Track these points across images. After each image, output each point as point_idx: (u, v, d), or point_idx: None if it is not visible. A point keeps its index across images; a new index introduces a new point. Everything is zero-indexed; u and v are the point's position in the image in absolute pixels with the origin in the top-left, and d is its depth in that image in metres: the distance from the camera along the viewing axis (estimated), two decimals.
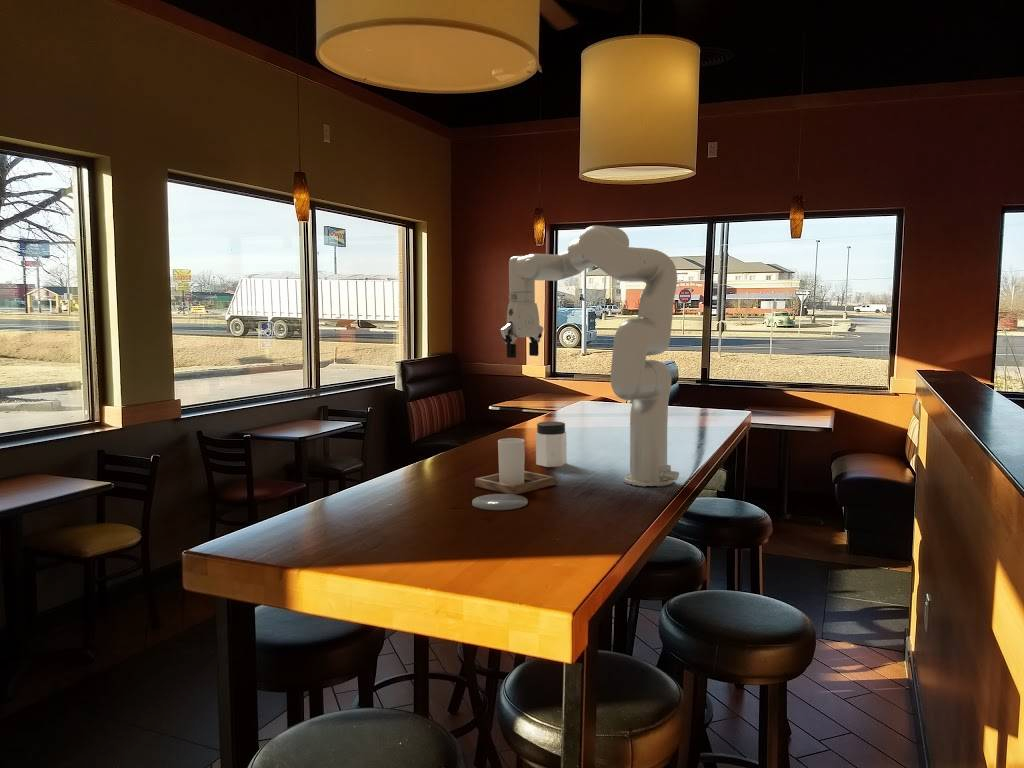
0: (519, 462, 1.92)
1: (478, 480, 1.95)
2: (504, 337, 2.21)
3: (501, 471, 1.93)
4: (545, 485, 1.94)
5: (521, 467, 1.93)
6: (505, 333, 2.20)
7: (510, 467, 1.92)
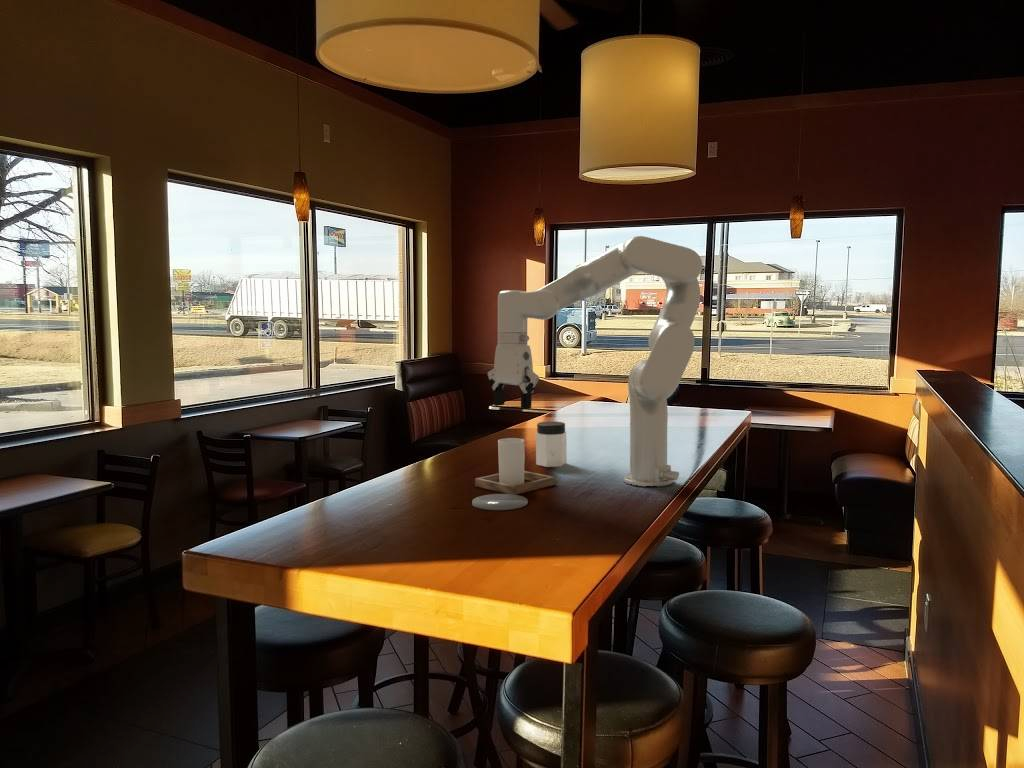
0: (519, 462, 1.92)
1: (478, 480, 1.95)
2: (534, 385, 1.89)
3: (501, 471, 1.93)
4: (545, 485, 1.94)
5: (521, 467, 1.93)
6: None
7: (510, 467, 1.92)
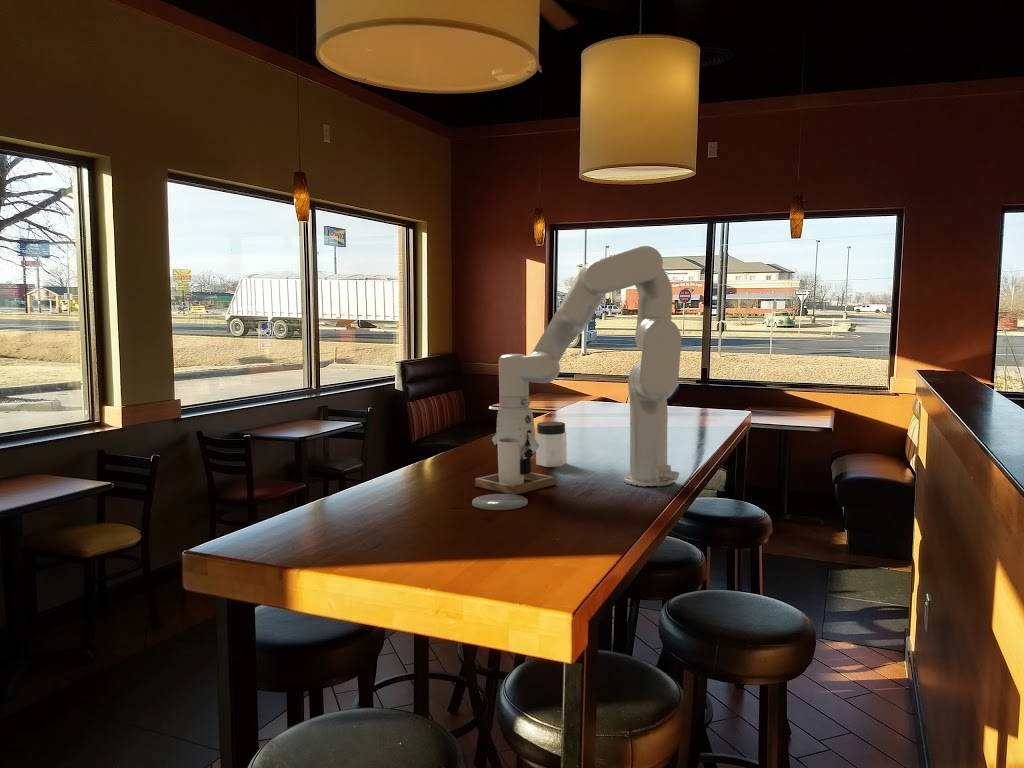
0: (519, 462, 1.92)
1: (478, 480, 1.95)
2: (533, 451, 1.91)
3: (501, 471, 1.93)
4: (545, 485, 1.94)
5: None
6: None
7: (509, 467, 1.92)
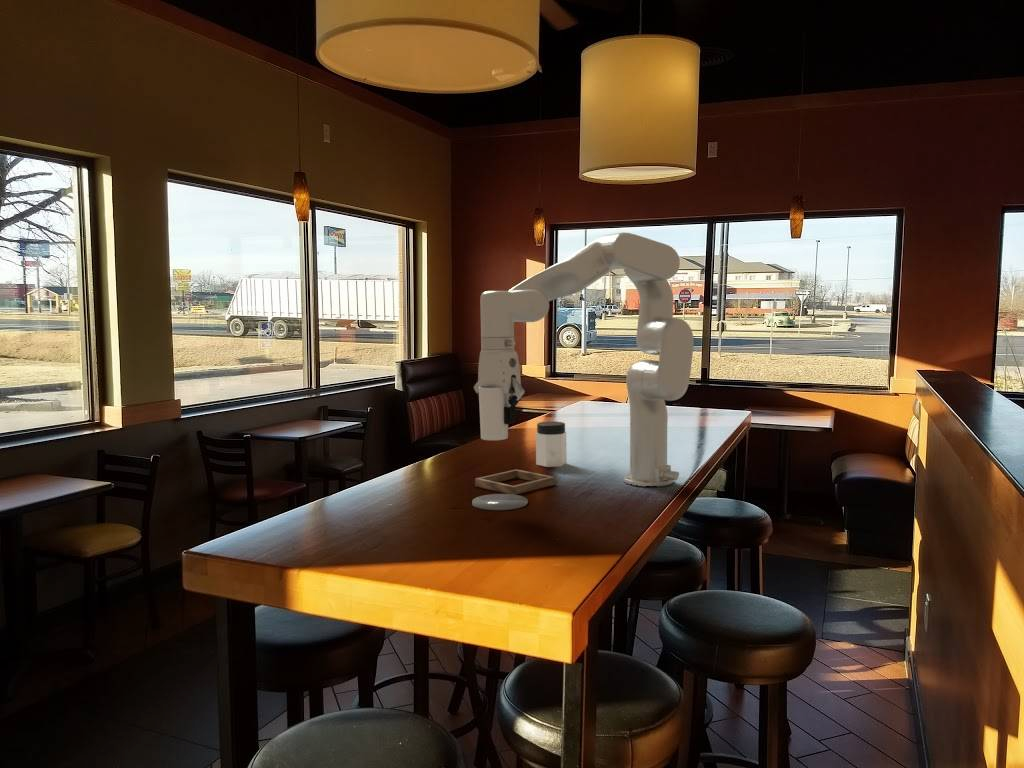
0: (502, 410, 1.73)
1: (478, 480, 1.95)
2: (518, 398, 1.72)
3: (482, 420, 1.74)
4: (545, 485, 1.94)
5: None
6: None
7: (492, 415, 1.73)
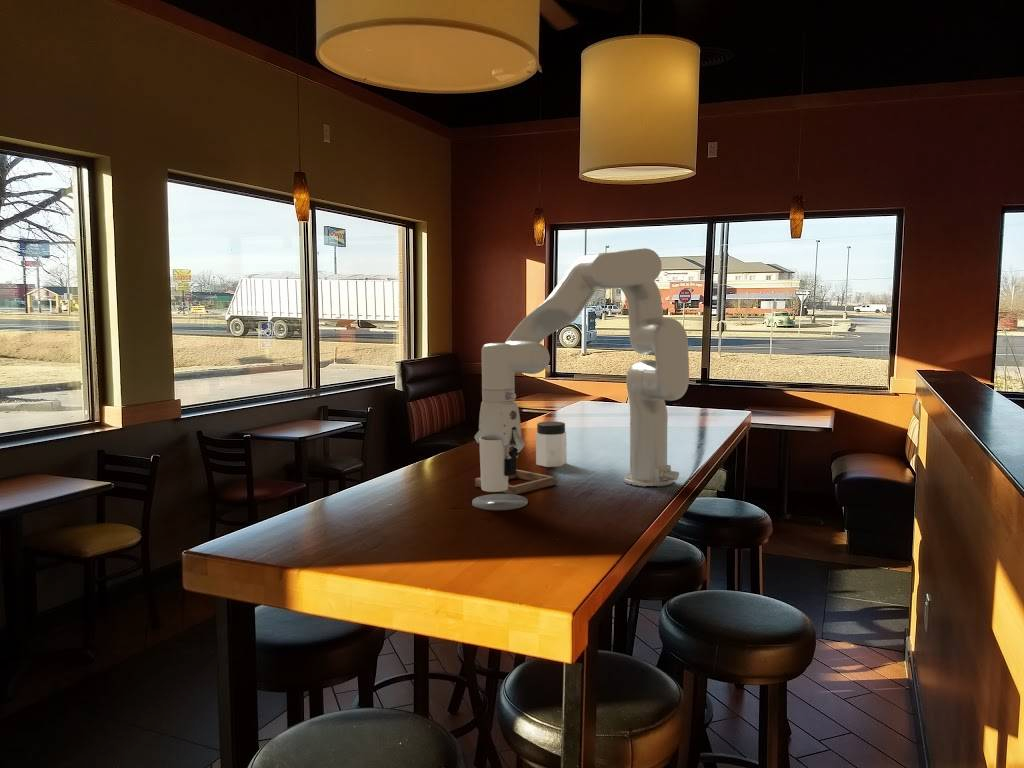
0: (503, 461, 1.74)
1: (478, 480, 1.95)
2: (518, 450, 1.73)
3: (483, 472, 1.75)
4: (545, 485, 1.94)
5: None
6: None
7: (492, 467, 1.74)
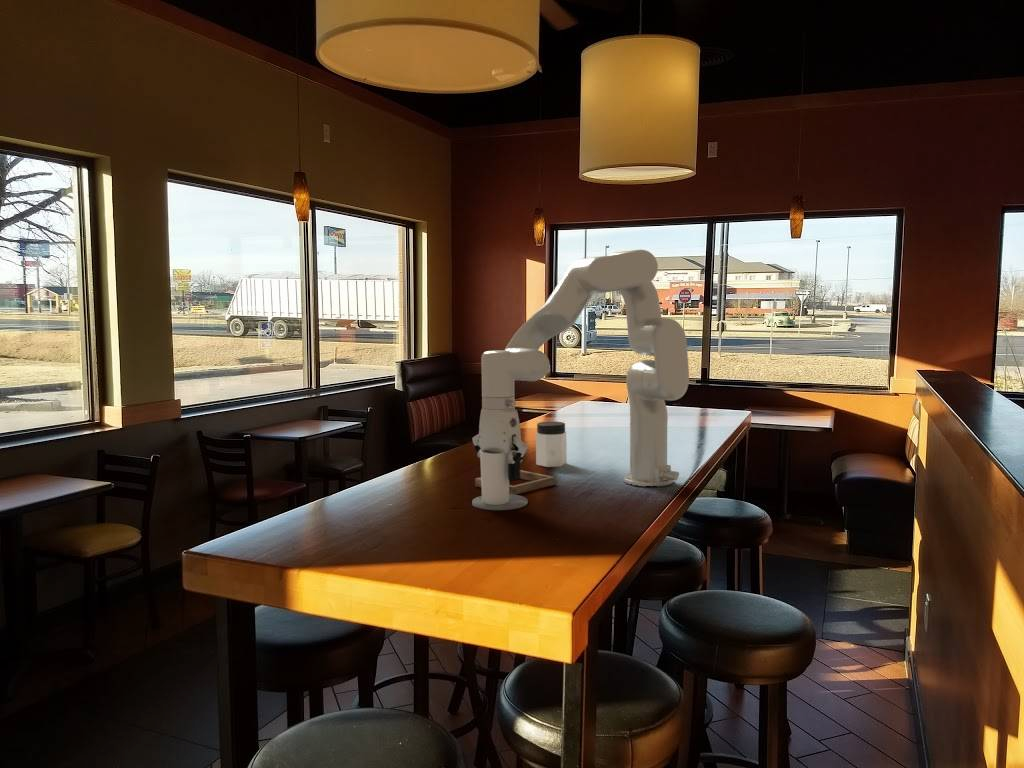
0: (504, 475, 1.75)
1: (478, 480, 1.95)
2: (522, 455, 1.72)
3: (483, 485, 1.76)
4: (545, 485, 1.94)
5: (505, 480, 1.75)
6: None
7: (493, 480, 1.74)
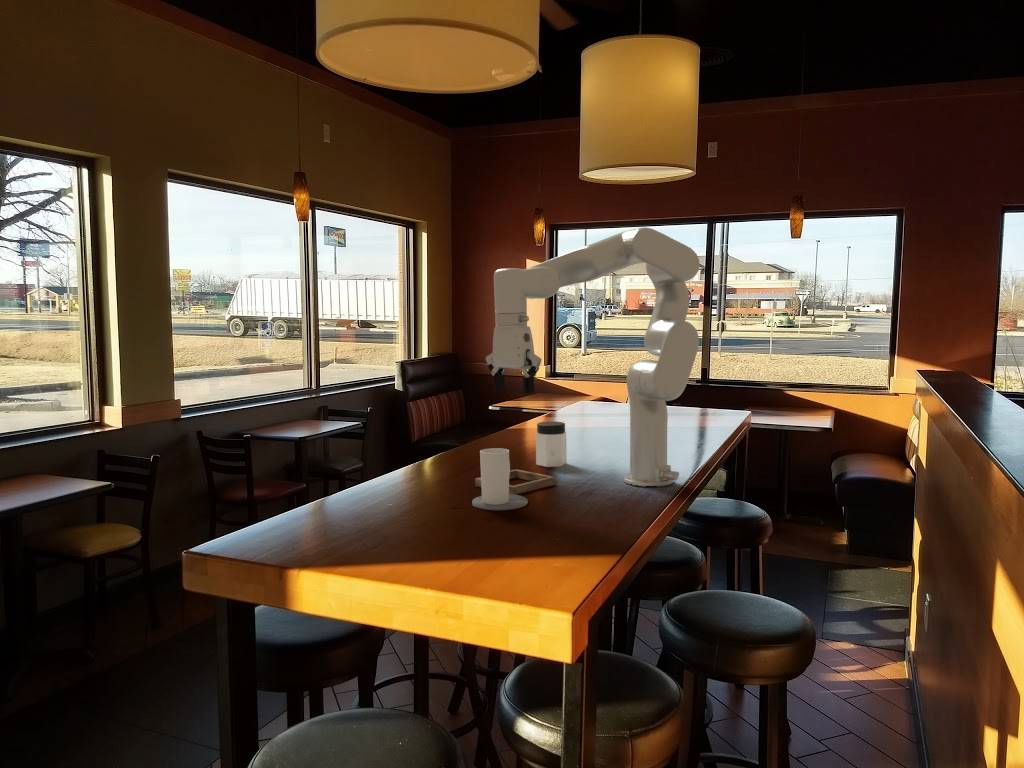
0: (503, 474, 1.75)
1: (478, 480, 1.95)
2: (536, 368, 1.77)
3: (483, 485, 1.76)
4: (545, 485, 1.94)
5: (505, 480, 1.75)
6: None
7: (493, 480, 1.74)
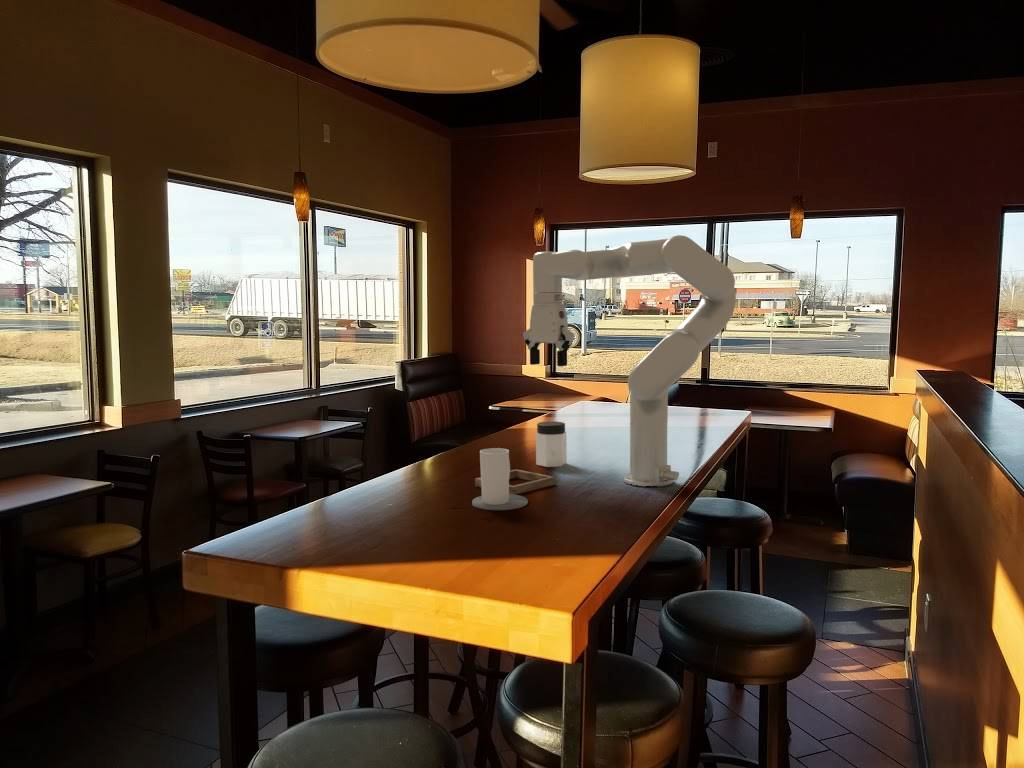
0: (503, 475, 1.75)
1: (478, 480, 1.95)
2: (570, 343, 1.95)
3: (483, 485, 1.76)
4: (545, 485, 1.94)
5: (505, 480, 1.75)
6: None
7: (493, 480, 1.74)
